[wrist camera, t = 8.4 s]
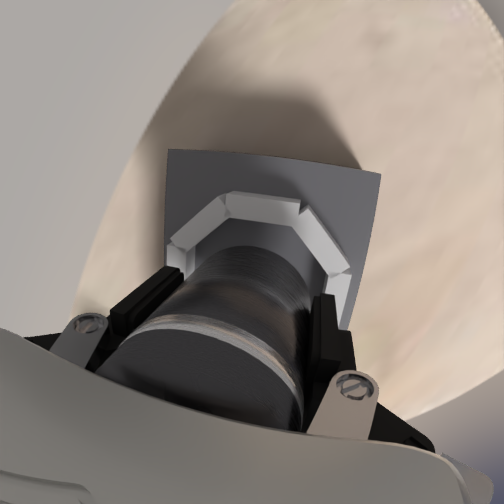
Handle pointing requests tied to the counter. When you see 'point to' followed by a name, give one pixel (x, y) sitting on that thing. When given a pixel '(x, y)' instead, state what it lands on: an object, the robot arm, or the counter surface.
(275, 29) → the counter surface
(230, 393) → the lens
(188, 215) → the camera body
